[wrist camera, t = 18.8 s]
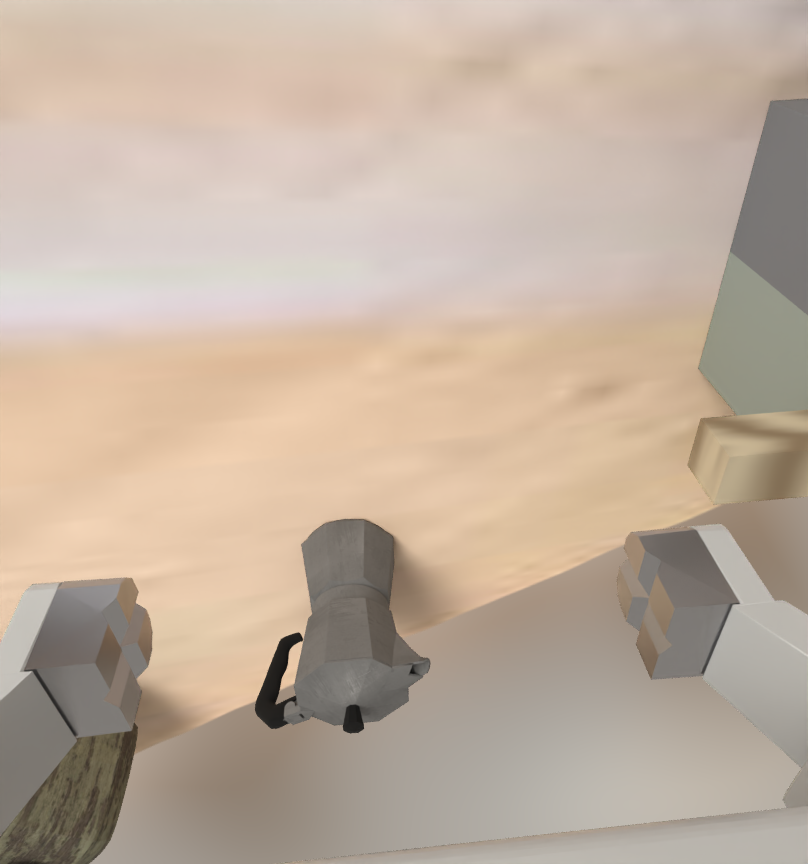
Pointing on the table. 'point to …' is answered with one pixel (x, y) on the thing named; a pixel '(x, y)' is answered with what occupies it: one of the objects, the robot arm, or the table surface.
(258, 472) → the table surface
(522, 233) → the table surface
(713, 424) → the batten
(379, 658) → the coffeepot
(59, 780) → the tabletop clock
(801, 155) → the step stand
